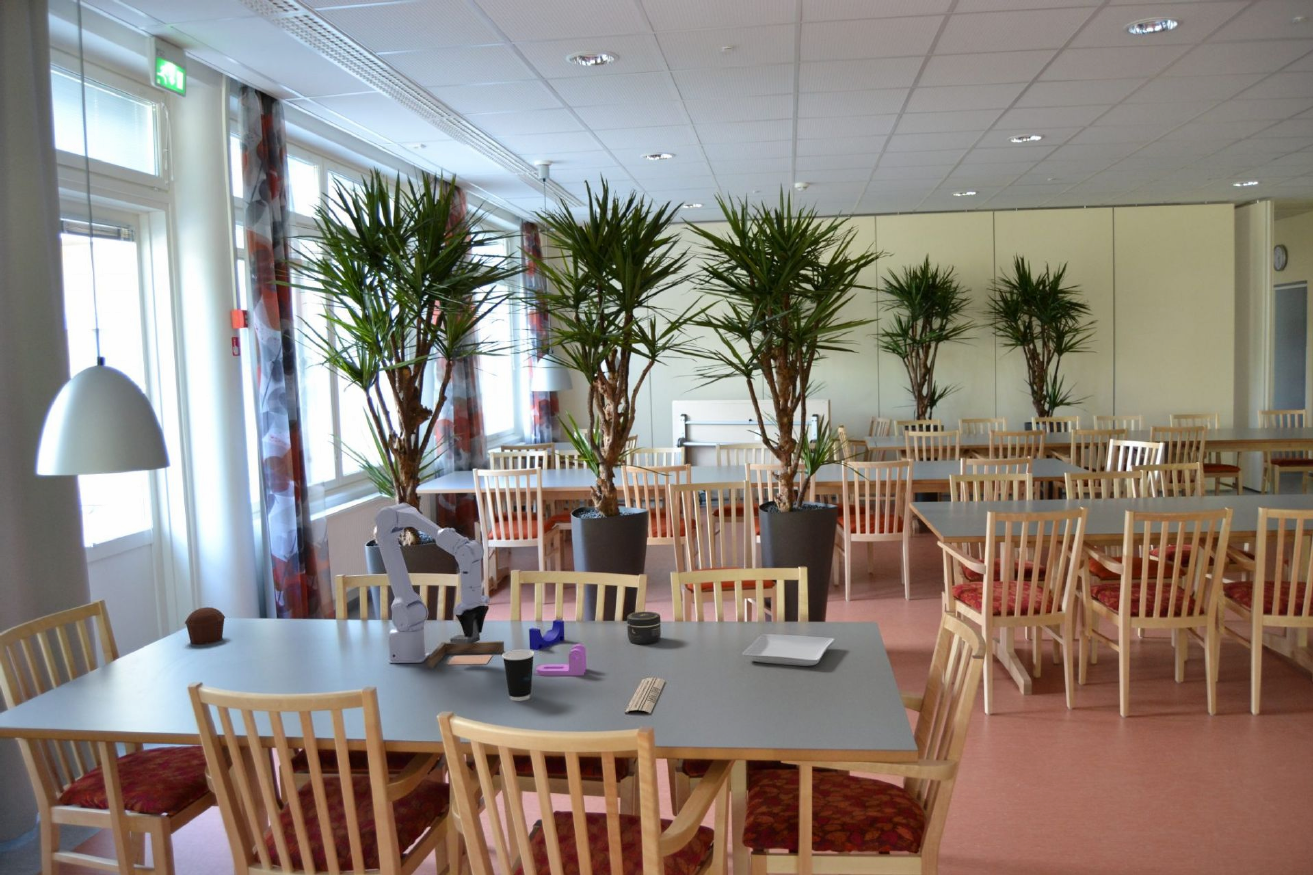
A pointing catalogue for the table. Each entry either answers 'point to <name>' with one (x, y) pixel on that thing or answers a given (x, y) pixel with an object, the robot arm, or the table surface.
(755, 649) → the salad plate
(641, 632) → the jar
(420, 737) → the table surface
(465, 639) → the angle bracket
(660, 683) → the newspaper
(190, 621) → the muffin
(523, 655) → the dixie cup
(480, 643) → the corner walls
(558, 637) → the blue cradle block
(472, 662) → the mat
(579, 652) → the bracket
